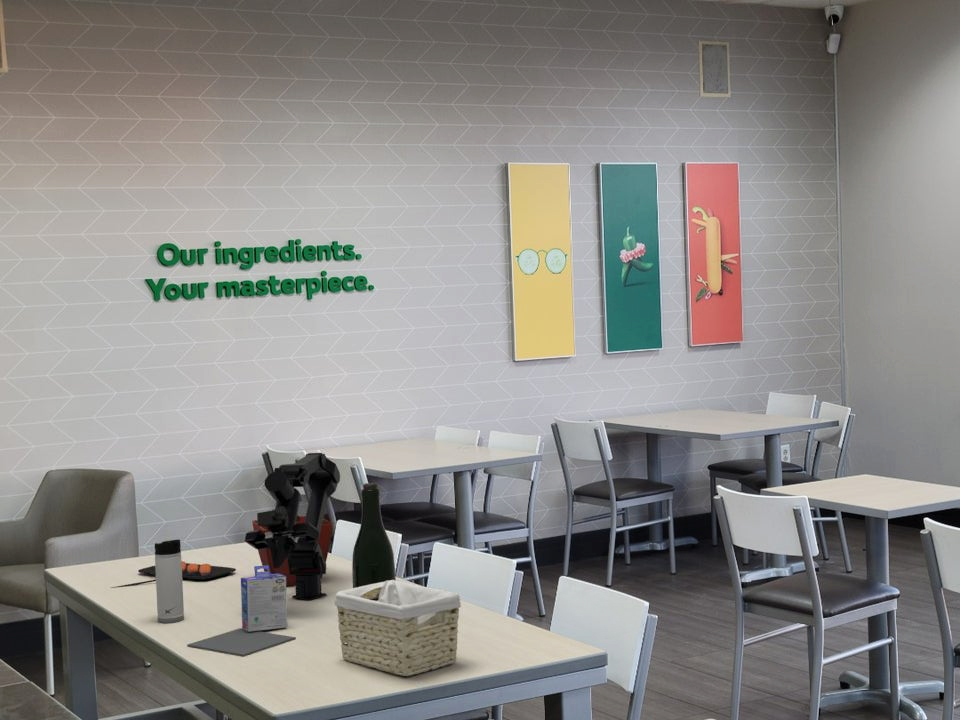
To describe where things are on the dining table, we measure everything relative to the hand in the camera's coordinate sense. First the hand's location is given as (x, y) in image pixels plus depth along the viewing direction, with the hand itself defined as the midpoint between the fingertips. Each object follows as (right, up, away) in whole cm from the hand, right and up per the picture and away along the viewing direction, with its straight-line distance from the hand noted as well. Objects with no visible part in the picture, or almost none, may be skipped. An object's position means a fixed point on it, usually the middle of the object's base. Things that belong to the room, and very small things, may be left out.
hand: (276, 568), depth 288 cm
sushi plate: (-41, -13, +54) cm, 69 cm away
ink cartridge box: (-1, -13, -10) cm, 16 cm away
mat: (-4, -13, -21) cm, 25 cm away
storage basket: (+33, -13, -41) cm, 54 cm away
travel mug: (-26, -14, +3) cm, 30 cm away
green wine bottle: (+25, -12, -6) cm, 28 cm away
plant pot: (-2, -12, +44) cm, 46 cm away
